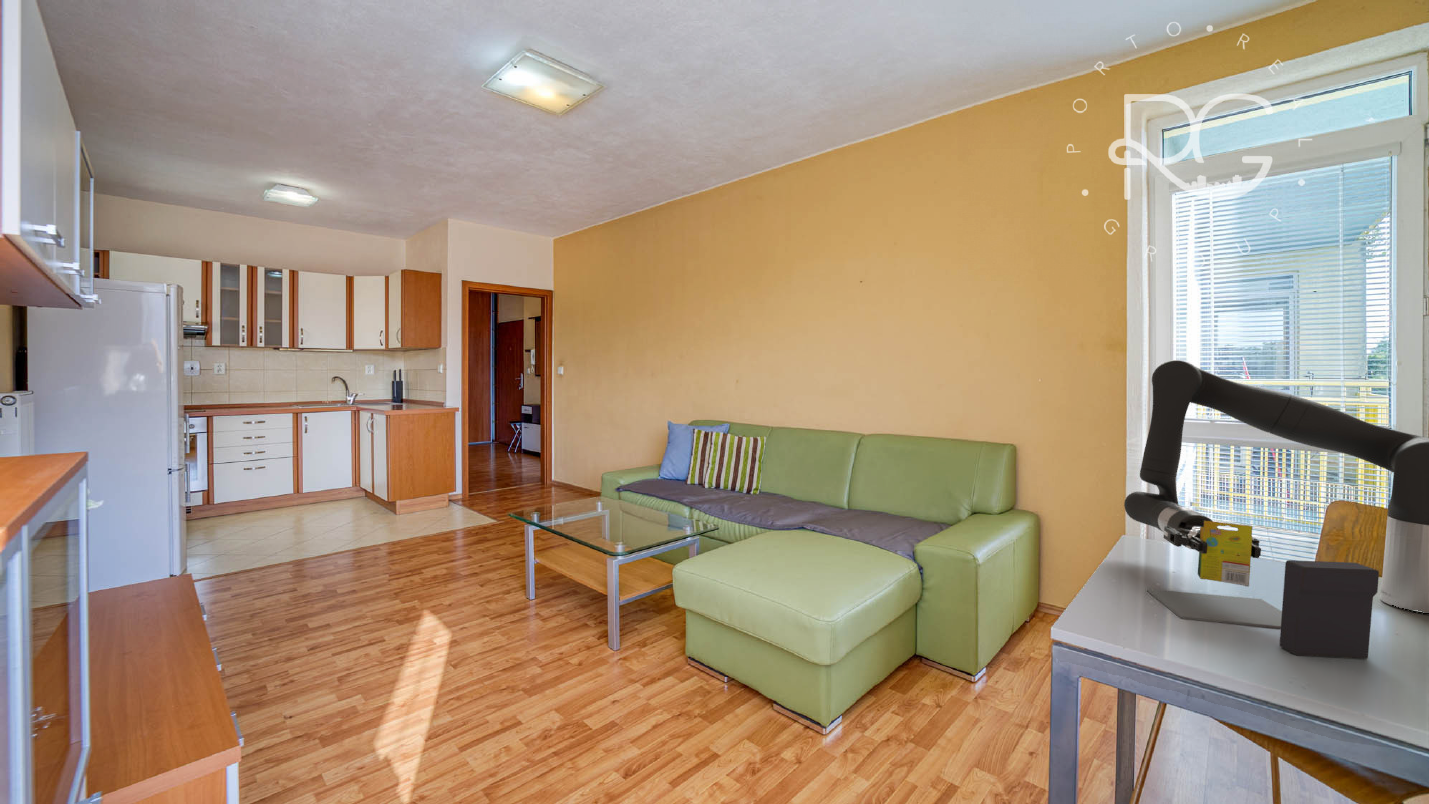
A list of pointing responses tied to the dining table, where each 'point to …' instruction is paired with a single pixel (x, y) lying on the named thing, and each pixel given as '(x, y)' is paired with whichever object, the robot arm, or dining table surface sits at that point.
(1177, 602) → the mat
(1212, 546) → the crayon box
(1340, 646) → the black square block
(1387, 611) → the dining table surface
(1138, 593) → the dining table surface
